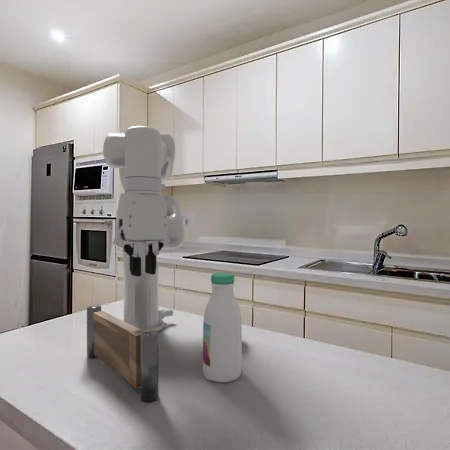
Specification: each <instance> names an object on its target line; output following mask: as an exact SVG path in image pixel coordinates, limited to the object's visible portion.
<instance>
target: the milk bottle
mask: <svg viewBox="0 0 450 450" xmlns="http://www.w3.org/2000/svg"><path fill="white" fill-rule="evenodd" d="M210 282H211V287H212V289H211V293H210V297H209V299H208V301H207V304H206V306H205V308H204V313H203V321H202V322H203V323H202V324H203V325H202V326H203V327H202V335H203V336H202V371H203V376H204V377H205V379H207V380H209V381H212V382H215V383H229V382H232V381H236V380H237V379H239V378H240V376H241V374H242V368H243V365H242V364H243V363H242V362H243V355H242V353H243V351H242V349H243V345H242V344H243V333H242V332H243V325H242V324H243V323H242V322H243V320H242V312H241V309H240V305H239V303H238V301H237V298H236V296H235V291H234V286H235V274H233V273H230V272H216V273H212V274H211V276H210Z"/></svg>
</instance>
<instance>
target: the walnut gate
mask: <svg viewBox="0 0 450 450" xmlns="http://www.w3.org/2000/svg"><path fill="white" fill-rule="evenodd" d="M93 319H94V355H95V356H96V357H97V358H96V359H99V360H100V361H101V362H103V363H104V364H105V365H106V366H108V367H110V368H111V369H113V371H115V372H116V373H118V374H119V375H120V376H121V377H123V378H124V380H127V381H128V382H129V383H128V384H129V385H130V386H132V388H134V389H135V390H136V389H139V388H140V389H141V334H142V333H144V332H146V331H144V330H142V329H138V328H136V327H134V326H132V325H130V324H128V323H126V322H124V320H122V319H120V318H118V317H116V316H114V315H111V314H110V313H108V312H105V311H104V310H101V311H99V312H94V313H93Z"/></svg>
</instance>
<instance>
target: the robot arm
mask: <svg viewBox="0 0 450 450" xmlns="http://www.w3.org/2000/svg"><path fill="white" fill-rule="evenodd" d="M104 138H105V139H104V141H103V145H102V147H103V148H102V152H103V159H104V161H105V163H106V165H107V166H108V167H110V168H113V169H118V173H119V174H118V175H119V179H120V180H119V181H120V183H121V186H122V188H123V193H120V195H119V199H118V203H117V211H116V221H115V237H114V239H113V241H112V245H113V246H115V247H117V248H118V249H121V250H122V257H123V258H122V260H123V321H124V322H126V323H128V324H130V325H132V326H134V327H136V328H138V329H142V330H144V331H146V332H149V331H153V332H157V333H159V332H160V331H161V330H163V329H164V328H165V322H164V319H165V318H166V317H167V318H168V317H171V316H173V315H174V310H173V309H171V308H170V309H166V310H165V309H164V308H163V309H160V304H159V303H160V300H159V298H160V297H159V296H160V295H159V293H160V291H159V290H160V287H159V285H160V283H159V281H160V280H159V279H160V277H159V275H160V274H159V273H160V270H159V269H160V268H159V267H160V266H159V264H158V261H157V256H158V255H159V254H160V251H161V250H174V249H178V248H180V247H181V246H183V243H184V241H185V228H184V227H185V226H184V222H183V217H182V216H183V215H182V211H181V206H180V203H179V200H178V199H177V198H176V197H175V196H172V195H166V194H165V195H164V194H162V191H165V190H166V184H164V183H163V182H166V181H168V180H170V179H171V178H172V174H173V169H174V162H175V155H176V144H175V140H174V138H173V137H172V135H170V134H169V133H166V132H160V131H158V130H157V129H156V128H154V127H151V126H145V125H144V126H143V125H142V126H141V125H136V126H131V127H128V128H127V129H126V130H125V132H119V133H117V132H116V133H113V132H111V133H109V134H107V135H106V137H104Z"/></svg>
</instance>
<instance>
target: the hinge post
mask: <svg viewBox="0 0 450 450" xmlns="http://www.w3.org/2000/svg"><path fill="white" fill-rule="evenodd" d="M99 311H102V305H99V304H96V305H95V304H94V305H89V306H86V358H87V359H98V358H97V357H96V356H95V355H94V319H93V313H94V312H99Z"/></svg>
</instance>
